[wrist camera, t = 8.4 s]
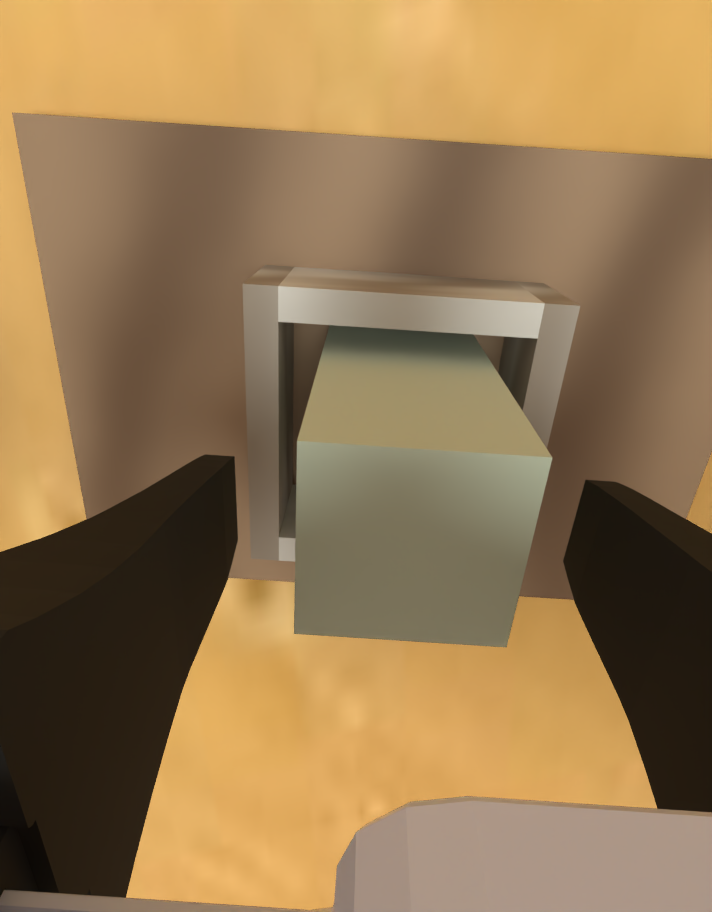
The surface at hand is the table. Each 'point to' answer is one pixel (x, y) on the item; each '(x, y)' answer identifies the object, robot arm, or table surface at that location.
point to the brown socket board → (367, 302)
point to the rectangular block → (413, 491)
